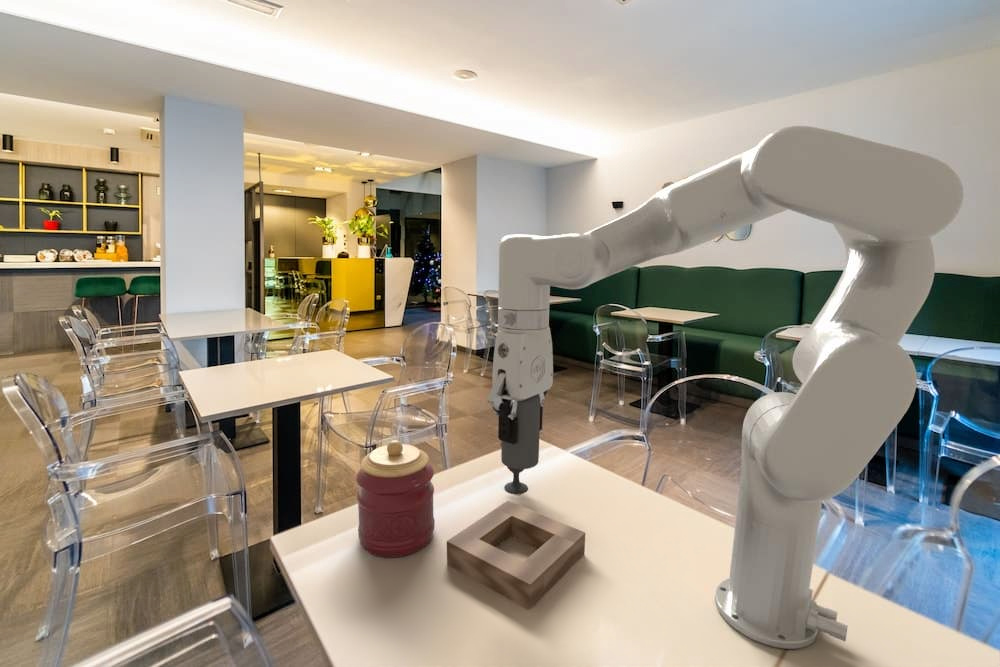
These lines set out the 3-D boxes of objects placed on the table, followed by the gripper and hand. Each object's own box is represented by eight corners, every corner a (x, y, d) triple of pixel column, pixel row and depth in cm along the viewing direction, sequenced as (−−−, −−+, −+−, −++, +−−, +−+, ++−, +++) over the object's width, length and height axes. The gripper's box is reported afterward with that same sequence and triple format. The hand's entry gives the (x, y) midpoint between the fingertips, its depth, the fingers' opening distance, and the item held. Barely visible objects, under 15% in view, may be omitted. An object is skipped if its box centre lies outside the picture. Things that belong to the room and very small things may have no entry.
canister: (352, 526, 88) (347, 433, 85) (421, 509, 94) (419, 422, 91) (367, 568, 77) (363, 463, 74) (445, 546, 83) (444, 448, 80)
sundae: (537, 485, 104) (539, 418, 101) (521, 499, 98) (523, 428, 96) (510, 477, 107) (512, 412, 105) (494, 490, 102) (495, 421, 99)
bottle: (539, 454, 79) (541, 364, 76) (538, 470, 73) (541, 374, 71) (503, 452, 80) (504, 362, 77) (499, 468, 74) (500, 372, 71)
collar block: (584, 554, 81) (585, 532, 80) (529, 610, 69) (530, 584, 68) (507, 520, 91) (507, 500, 90) (446, 563, 78) (446, 541, 78)
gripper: (508, 330, 63) (506, 460, 67) (574, 316, 77) (569, 425, 80) (465, 323, 68) (465, 446, 71) (534, 311, 81) (531, 415, 85)
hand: (520, 433), depth 76 cm, fingers closed on bottle, 5 cm apart
